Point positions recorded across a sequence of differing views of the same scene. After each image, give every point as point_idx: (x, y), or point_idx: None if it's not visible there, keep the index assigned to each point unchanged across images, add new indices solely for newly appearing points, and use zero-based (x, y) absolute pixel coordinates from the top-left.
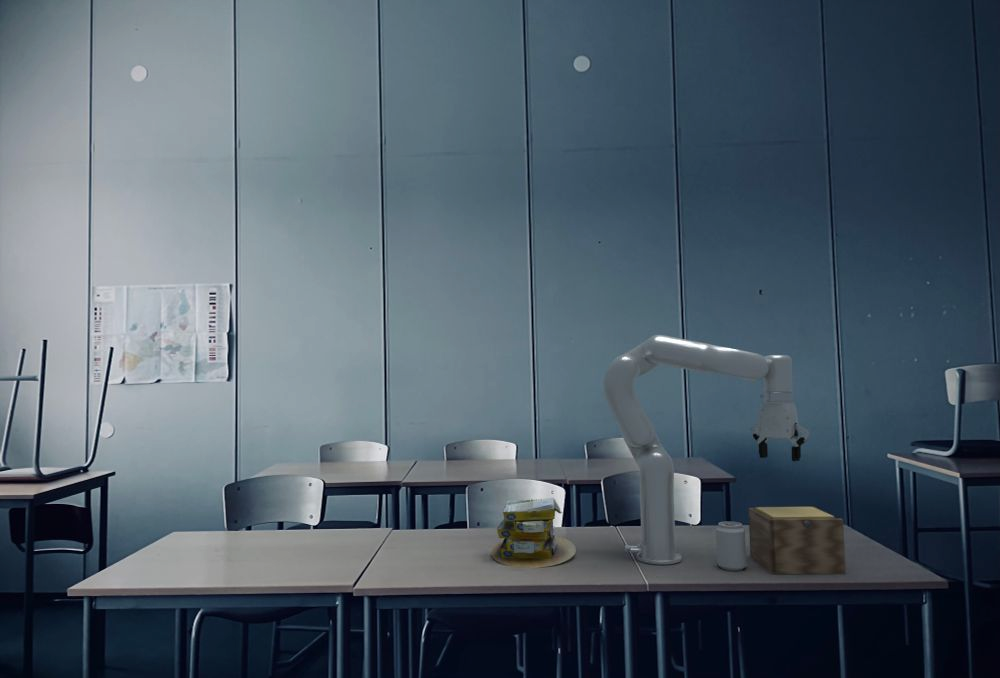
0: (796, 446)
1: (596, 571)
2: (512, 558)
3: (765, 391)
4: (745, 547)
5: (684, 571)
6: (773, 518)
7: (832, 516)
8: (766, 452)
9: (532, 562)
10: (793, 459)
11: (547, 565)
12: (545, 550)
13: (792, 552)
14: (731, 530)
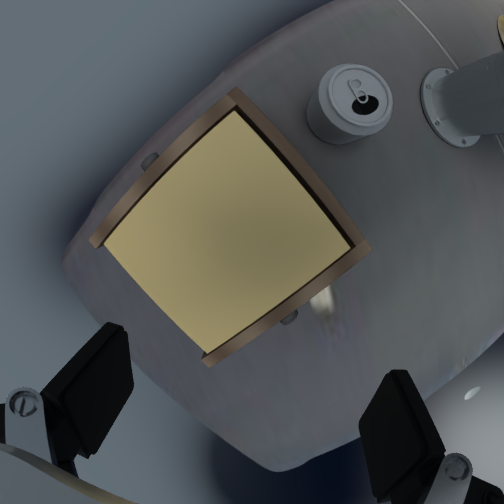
0: (27, 388)
1: (459, 14)
2: None
3: None
4: (315, 120)
5: (384, 52)
6: (234, 111)
7: (106, 240)
8: (369, 440)
9: None
10: (106, 325)
11: (499, 22)
12: None
13: None
14: (339, 67)
